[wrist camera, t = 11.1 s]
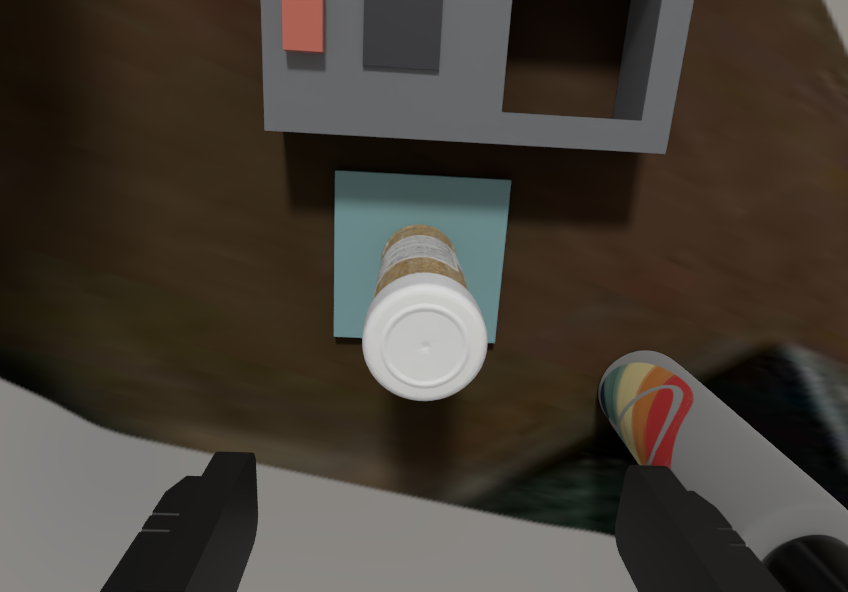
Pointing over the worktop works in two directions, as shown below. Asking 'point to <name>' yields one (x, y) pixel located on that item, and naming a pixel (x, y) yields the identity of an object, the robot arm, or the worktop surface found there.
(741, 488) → the lotion bottle
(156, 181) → the worktop surface
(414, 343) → the sprinkles bottle
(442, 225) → the mat
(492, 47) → the power strip
